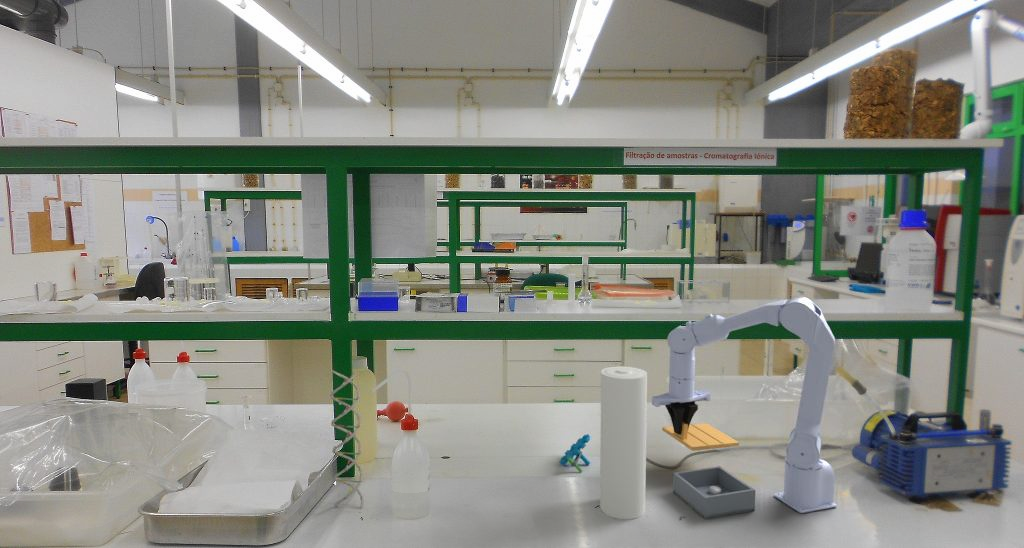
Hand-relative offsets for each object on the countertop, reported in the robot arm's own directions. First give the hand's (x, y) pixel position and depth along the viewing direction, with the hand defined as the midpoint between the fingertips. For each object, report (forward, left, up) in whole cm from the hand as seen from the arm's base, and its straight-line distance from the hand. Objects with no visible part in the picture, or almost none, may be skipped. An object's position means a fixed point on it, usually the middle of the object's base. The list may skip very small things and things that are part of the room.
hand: (680, 432), depth 135 cm
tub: (0, +13, -10) cm, 17 cm away
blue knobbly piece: (+22, -13, -11) cm, 27 cm away
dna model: (+76, -7, -11) cm, 77 cm away
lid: (-5, 0, -2) cm, 6 cm away
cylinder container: (+20, +10, -11) cm, 25 cm away
